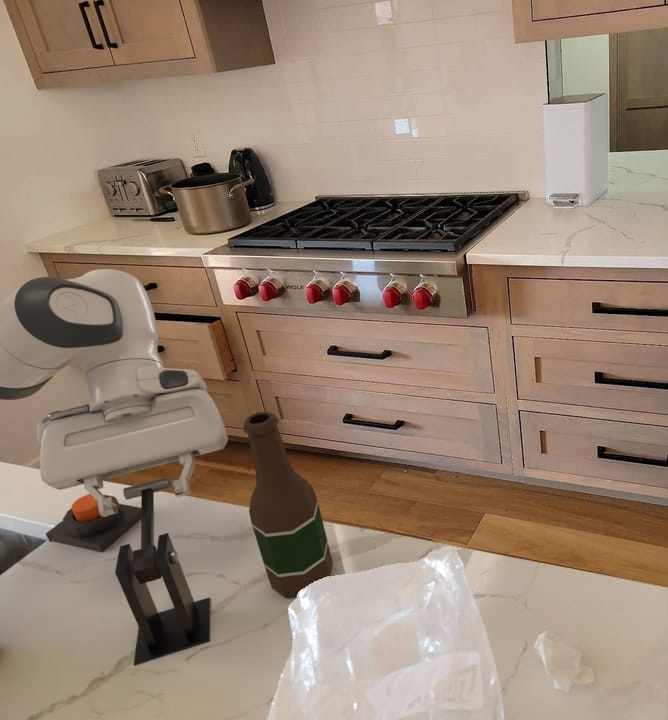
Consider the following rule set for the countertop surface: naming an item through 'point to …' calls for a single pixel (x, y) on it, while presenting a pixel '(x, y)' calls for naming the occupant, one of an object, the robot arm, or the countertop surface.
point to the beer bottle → (284, 513)
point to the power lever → (146, 529)
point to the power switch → (170, 626)
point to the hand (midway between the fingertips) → (146, 504)
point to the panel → (95, 528)
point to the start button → (85, 508)
